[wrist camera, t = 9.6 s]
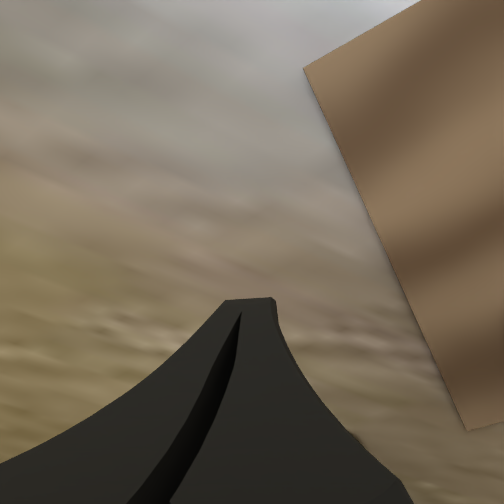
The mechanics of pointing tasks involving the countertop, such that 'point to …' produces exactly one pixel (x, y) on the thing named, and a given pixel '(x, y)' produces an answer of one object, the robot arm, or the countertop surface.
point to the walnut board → (433, 176)
